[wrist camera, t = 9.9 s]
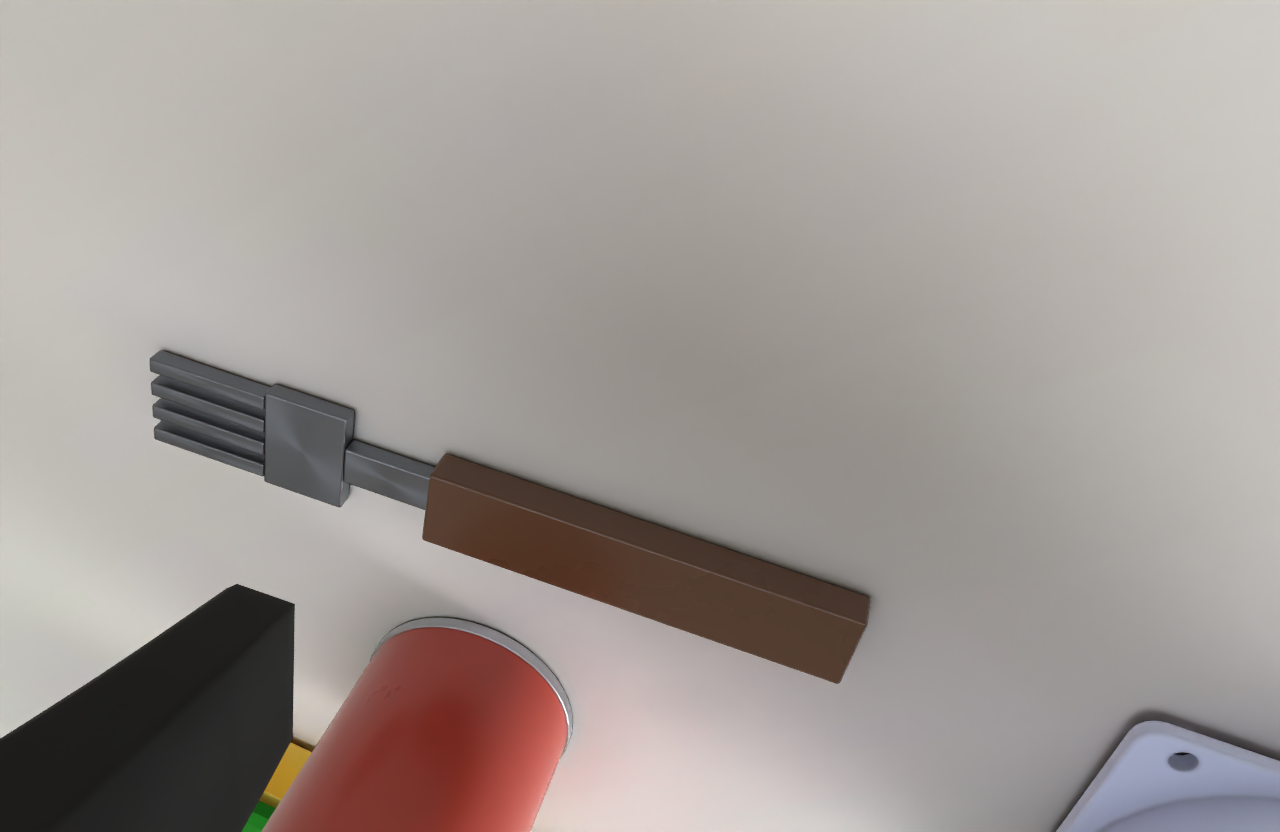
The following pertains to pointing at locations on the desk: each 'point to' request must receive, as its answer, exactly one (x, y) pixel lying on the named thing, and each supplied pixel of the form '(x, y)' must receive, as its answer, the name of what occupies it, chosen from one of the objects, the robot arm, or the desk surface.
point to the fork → (515, 521)
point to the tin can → (435, 739)
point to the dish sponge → (277, 787)
